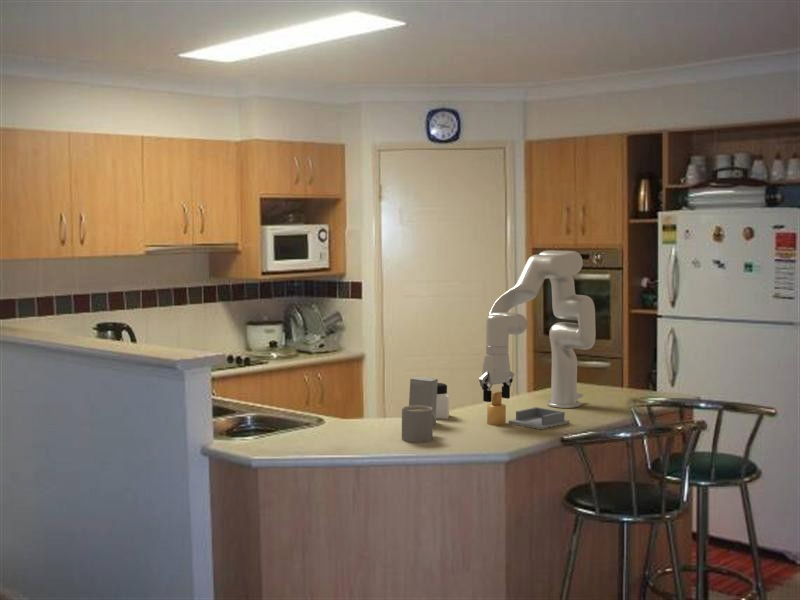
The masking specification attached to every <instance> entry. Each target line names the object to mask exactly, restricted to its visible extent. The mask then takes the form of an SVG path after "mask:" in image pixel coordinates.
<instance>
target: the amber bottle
mask: <svg viewBox="0 0 800 600" xmlns="http://www.w3.org/2000/svg"><path fill="white" fill-rule="evenodd" d="M502 400H503V399H502V391H492V396H491V403H488V404H487V407H486V414H487V415H486V424H487V426H488V425H489V426H494V425H500V426H505V425H506V424H507V422H506V420H507V418H506V417H507V416H506V415H507V414H506V413H507V405H506V404H505V403H502V402H503V401H502ZM504 424H505V425H504Z"/></svg>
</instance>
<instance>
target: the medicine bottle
mask: <svg viewBox="0 0 800 600" xmlns="http://www.w3.org/2000/svg"><path fill="white" fill-rule="evenodd" d="M449 415H450V396H449V395H448V385H447V384H446V383H444V382H438V384H437V402H436V419H439V420H440V419H443V420H447V419H448V418H449Z"/></svg>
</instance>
